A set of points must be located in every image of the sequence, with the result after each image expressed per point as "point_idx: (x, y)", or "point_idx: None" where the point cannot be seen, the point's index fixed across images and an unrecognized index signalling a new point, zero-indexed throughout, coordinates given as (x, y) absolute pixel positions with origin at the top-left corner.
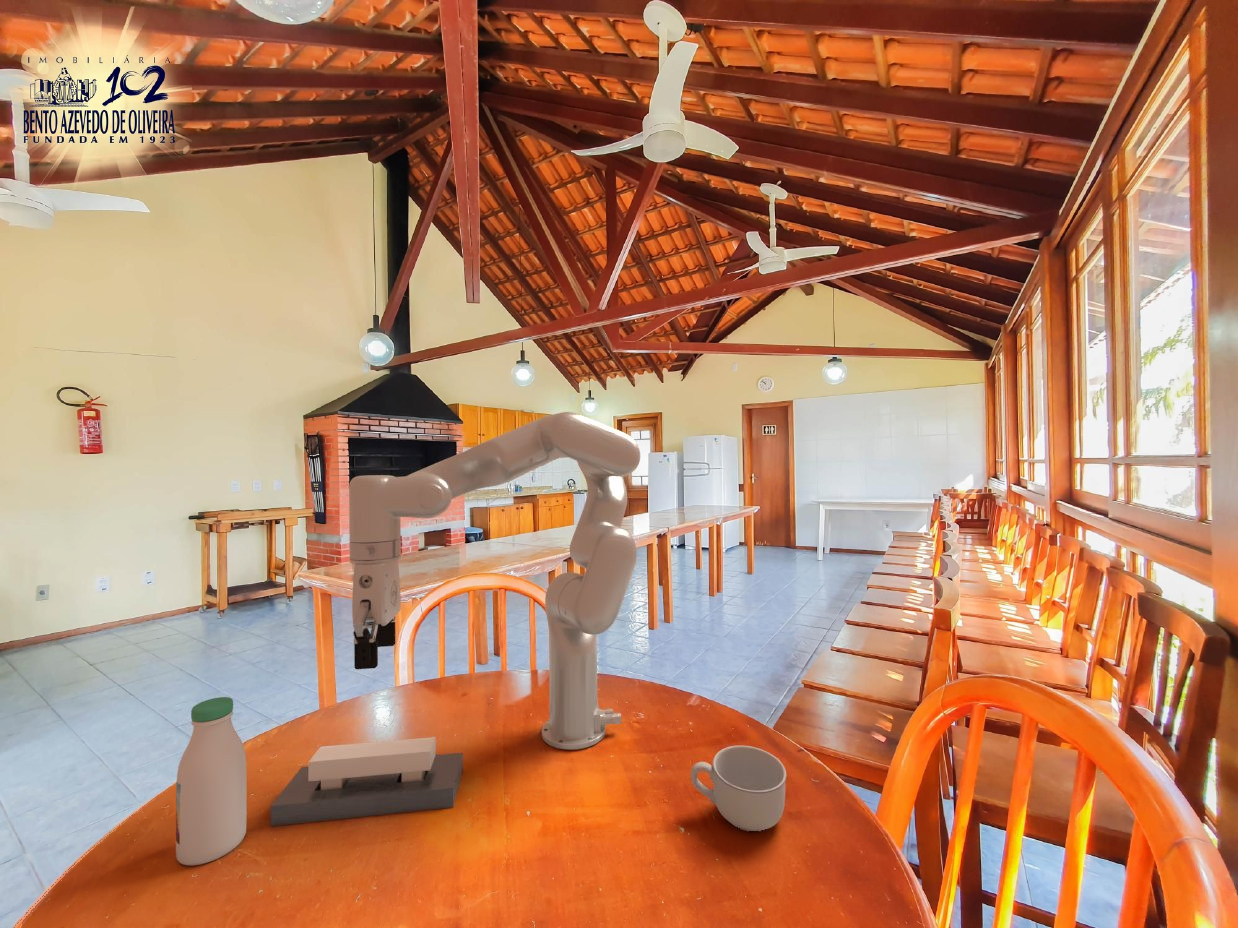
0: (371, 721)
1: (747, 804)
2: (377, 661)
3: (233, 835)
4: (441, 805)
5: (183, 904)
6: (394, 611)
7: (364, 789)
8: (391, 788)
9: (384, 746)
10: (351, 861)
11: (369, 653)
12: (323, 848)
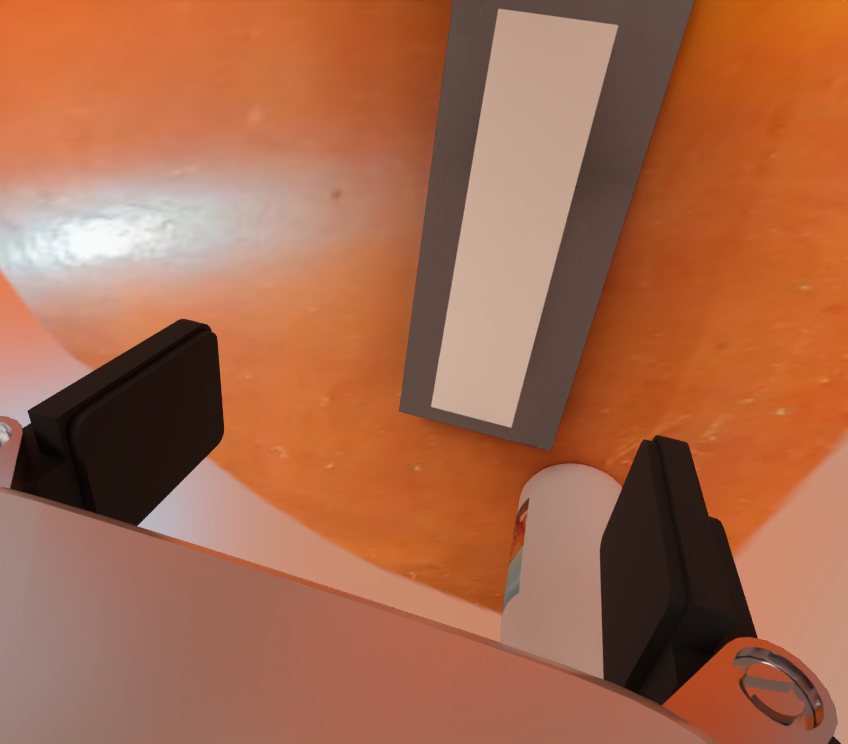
0: (143, 265)
1: None
2: (669, 456)
3: (612, 492)
4: None
5: (735, 515)
6: (192, 654)
7: (576, 253)
8: (608, 172)
9: (501, 222)
10: (799, 245)
11: (740, 582)
12: (700, 315)
